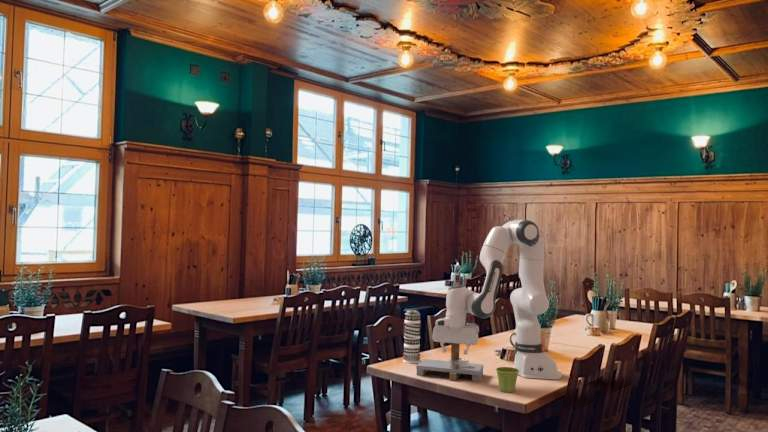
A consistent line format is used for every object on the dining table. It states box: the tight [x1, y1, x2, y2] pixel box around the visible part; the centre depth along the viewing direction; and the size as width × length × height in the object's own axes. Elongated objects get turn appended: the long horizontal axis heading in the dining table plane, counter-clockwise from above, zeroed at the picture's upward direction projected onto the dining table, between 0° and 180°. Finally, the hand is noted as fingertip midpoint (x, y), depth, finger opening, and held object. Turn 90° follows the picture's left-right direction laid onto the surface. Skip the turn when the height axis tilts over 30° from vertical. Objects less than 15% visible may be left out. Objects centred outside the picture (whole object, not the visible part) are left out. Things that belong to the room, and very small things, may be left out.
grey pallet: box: [415, 358, 484, 382], centre depth 259 cm, size 28×18×4 cm, turn 72°
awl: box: [450, 343, 461, 369], centre depth 253 cm, size 4×4×11 cm
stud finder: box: [448, 357, 470, 367], centre depth 258 cm, size 8×4×3 cm, turn 72°
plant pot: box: [495, 366, 519, 393], centre depth 236 cm, size 9×9×9 cm
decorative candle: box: [402, 309, 422, 364], centre depth 284 cm, size 9×9×25 cm
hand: (454, 353), depth 253 cm, fingers open, 8 cm apart
